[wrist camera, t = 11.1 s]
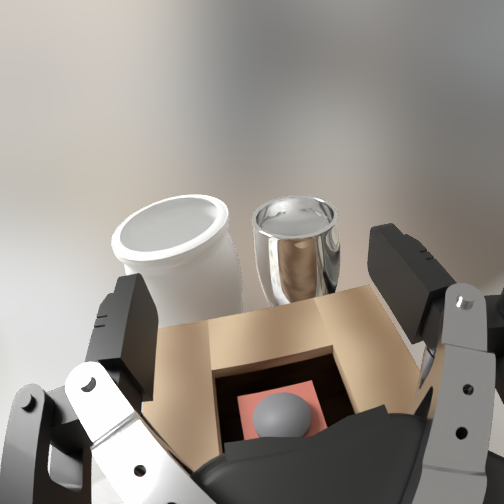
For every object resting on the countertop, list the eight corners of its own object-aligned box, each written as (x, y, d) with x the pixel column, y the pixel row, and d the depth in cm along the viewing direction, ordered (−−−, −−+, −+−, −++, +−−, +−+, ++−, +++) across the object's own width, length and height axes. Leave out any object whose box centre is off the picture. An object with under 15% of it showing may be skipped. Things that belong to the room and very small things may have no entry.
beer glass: (347, 350, 30) (359, 222, 21) (284, 377, 29) (268, 251, 20) (317, 308, 36) (313, 186, 27) (260, 329, 34) (237, 207, 26)
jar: (150, 333, 36) (99, 226, 27) (220, 292, 40) (192, 184, 32) (191, 394, 28) (130, 279, 20) (273, 340, 33) (254, 216, 24)
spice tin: (270, 498, 18) (246, 461, 12) (261, 455, 22) (235, 391, 15) (321, 486, 19) (334, 441, 12) (309, 444, 22) (311, 374, 15)
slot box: (218, 559, 15) (144, 562, 7) (203, 418, 26) (150, 329, 19) (399, 519, 15) (475, 485, 8) (351, 387, 27) (369, 284, 19)
